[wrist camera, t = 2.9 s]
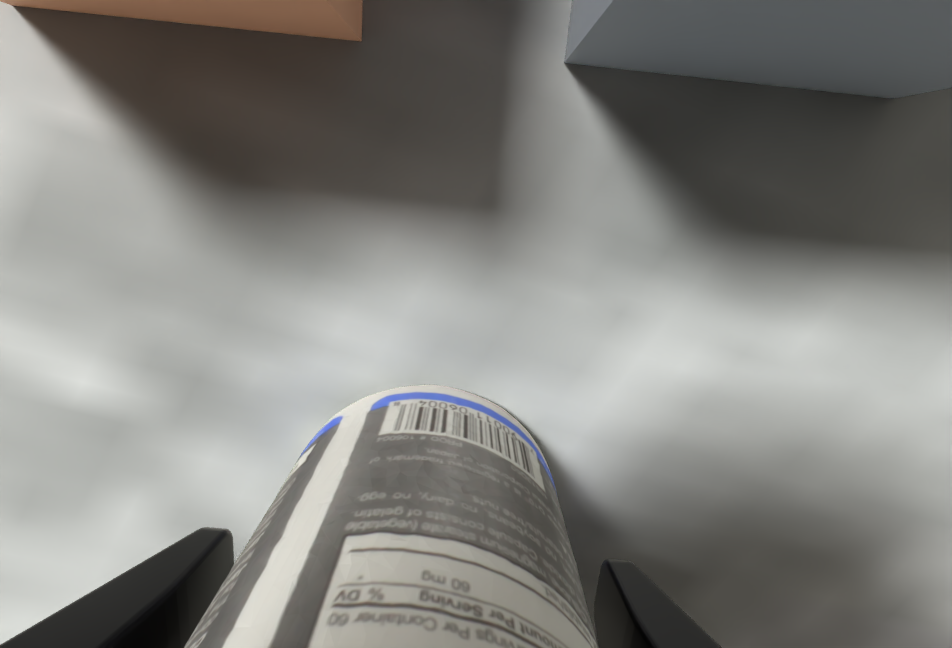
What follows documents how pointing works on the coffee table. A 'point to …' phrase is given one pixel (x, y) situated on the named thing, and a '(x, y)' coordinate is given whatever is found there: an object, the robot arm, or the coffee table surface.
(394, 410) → the pill bottle
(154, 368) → the coffee table surface
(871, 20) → the slate-grey block
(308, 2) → the terracotta block
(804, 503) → the coffee table surface
